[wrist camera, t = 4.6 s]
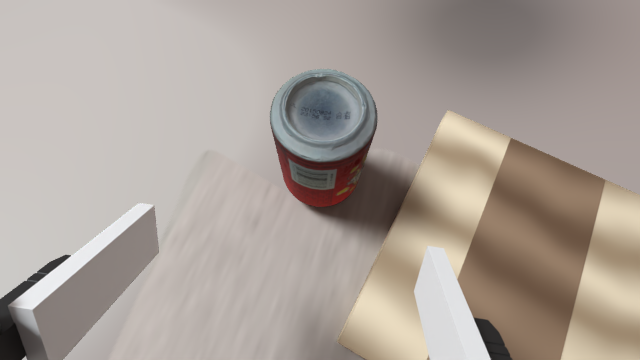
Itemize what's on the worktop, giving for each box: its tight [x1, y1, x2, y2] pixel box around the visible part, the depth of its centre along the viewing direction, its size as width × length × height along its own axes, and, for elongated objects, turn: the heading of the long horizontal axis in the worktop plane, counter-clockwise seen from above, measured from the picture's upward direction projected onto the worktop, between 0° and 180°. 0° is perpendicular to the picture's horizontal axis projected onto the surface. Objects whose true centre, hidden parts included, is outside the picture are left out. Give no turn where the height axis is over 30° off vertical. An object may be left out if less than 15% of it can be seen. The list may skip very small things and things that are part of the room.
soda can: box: [270, 69, 377, 207], centre depth 26 cm, size 7×7×12 cm
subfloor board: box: [337, 110, 640, 360], centre depth 28 cm, size 24×28×2 cm
